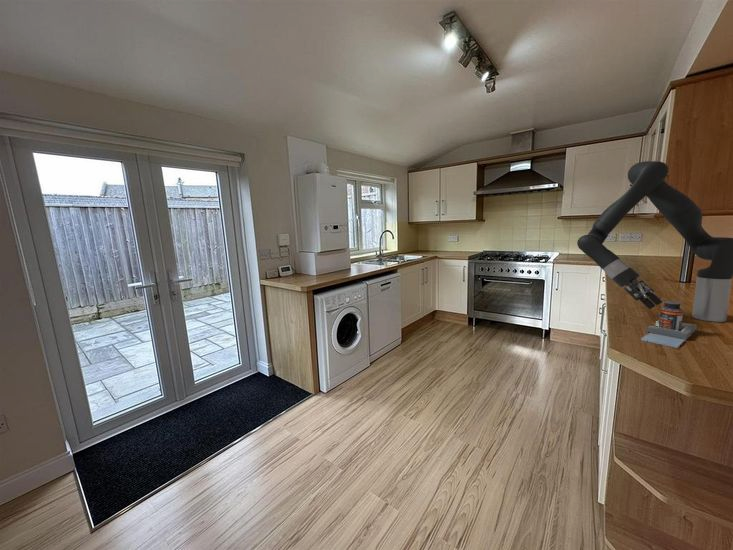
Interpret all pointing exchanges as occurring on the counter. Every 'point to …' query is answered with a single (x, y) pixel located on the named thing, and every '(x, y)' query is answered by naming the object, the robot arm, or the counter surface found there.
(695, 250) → the robot arm
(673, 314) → the supplement bottle
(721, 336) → the counter surface
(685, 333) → the grey c-shaped bracket
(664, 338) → the coaster
